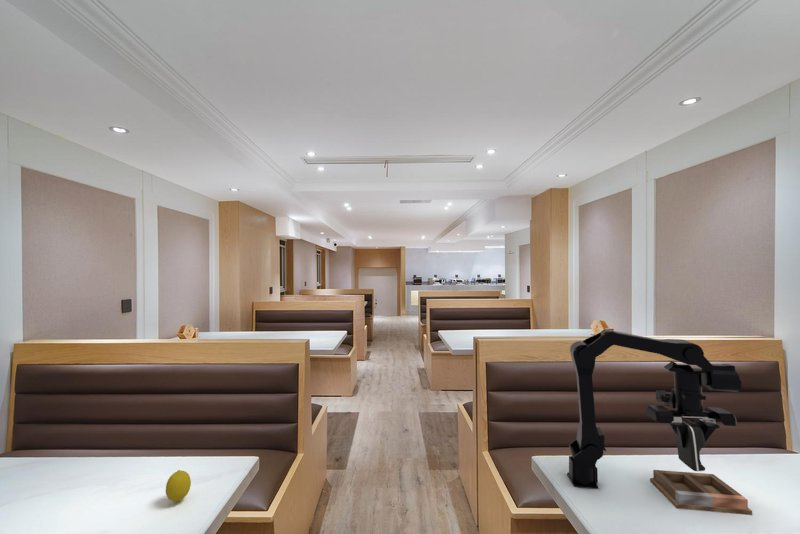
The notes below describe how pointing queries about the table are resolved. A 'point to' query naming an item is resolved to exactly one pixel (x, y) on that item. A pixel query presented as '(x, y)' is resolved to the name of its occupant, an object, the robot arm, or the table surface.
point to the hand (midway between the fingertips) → (690, 447)
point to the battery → (692, 446)
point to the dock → (699, 492)
